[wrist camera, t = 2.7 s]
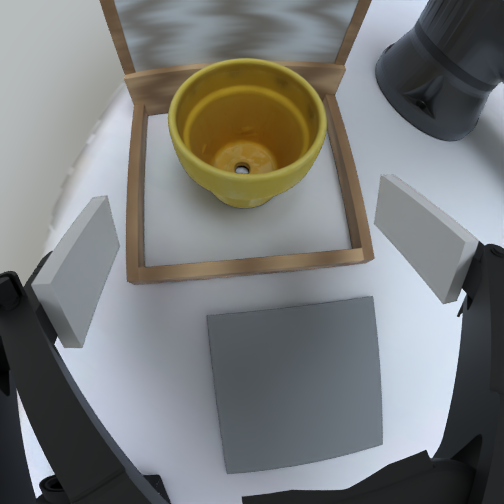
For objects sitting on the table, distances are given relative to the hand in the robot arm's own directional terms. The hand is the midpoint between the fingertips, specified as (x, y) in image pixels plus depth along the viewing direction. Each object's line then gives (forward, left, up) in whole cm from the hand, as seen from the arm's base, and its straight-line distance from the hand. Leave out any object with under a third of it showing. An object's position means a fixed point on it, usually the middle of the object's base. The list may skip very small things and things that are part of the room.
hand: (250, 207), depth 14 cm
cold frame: (-1, -8, -12) cm, 14 cm away
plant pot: (-1, -8, -12) cm, 15 cm away
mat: (-4, +11, -12) cm, 17 cm away
